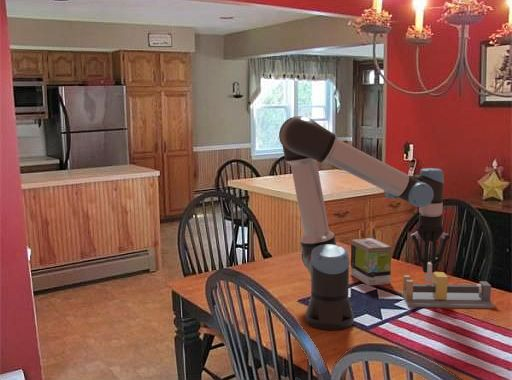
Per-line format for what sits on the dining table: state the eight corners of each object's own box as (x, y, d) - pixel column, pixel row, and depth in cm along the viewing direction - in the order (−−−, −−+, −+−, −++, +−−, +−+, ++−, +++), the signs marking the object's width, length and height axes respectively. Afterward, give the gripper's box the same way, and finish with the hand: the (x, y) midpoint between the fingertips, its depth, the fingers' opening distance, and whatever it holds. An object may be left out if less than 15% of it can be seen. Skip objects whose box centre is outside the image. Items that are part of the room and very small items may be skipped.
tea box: (391, 283, 204) (392, 246, 201) (367, 286, 201) (368, 248, 199) (372, 272, 218) (372, 236, 216) (349, 274, 215) (350, 238, 213)
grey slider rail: (493, 308, 178) (495, 285, 177) (408, 306, 180) (408, 284, 179) (481, 295, 190) (483, 273, 188) (401, 294, 192) (402, 272, 191)
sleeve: (446, 299, 182) (447, 277, 181) (435, 299, 182) (436, 276, 181) (442, 294, 187) (443, 272, 186) (432, 294, 188) (433, 272, 186)
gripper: (447, 211, 184) (444, 277, 187) (408, 212, 185) (407, 277, 189) (453, 216, 176) (450, 285, 180) (413, 216, 177) (411, 284, 181)
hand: (428, 281), depth 184 cm, fingers closed
